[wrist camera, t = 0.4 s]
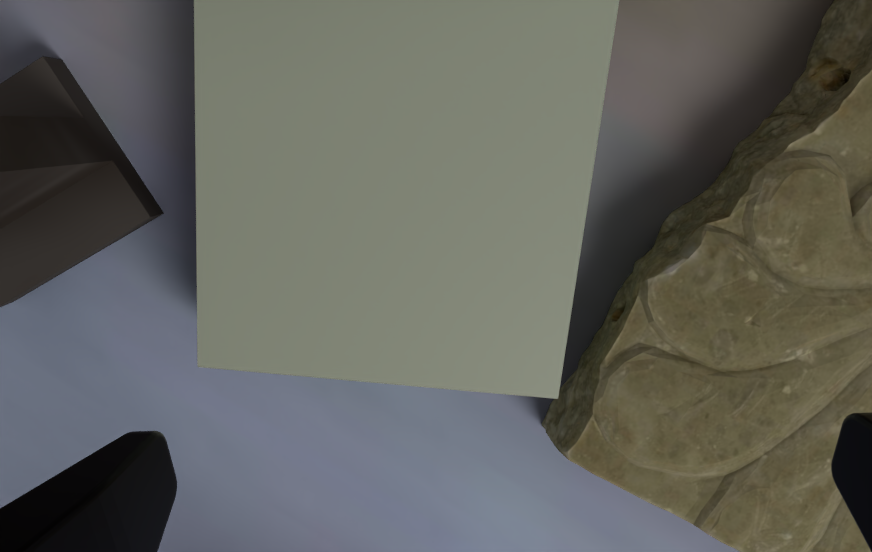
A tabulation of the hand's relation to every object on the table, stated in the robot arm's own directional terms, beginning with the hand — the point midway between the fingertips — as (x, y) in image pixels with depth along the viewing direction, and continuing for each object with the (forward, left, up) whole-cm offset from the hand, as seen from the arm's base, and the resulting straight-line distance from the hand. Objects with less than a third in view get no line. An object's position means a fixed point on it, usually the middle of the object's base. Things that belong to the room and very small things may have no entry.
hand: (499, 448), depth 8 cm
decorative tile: (-1, -15, -15) cm, 21 cm away
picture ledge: (+3, +3, -14) cm, 14 cm away
